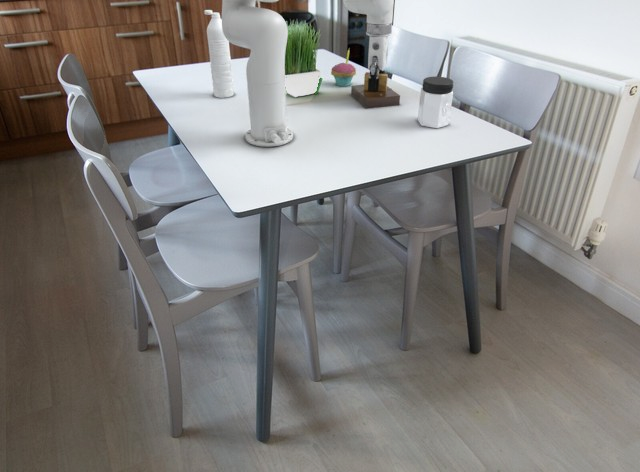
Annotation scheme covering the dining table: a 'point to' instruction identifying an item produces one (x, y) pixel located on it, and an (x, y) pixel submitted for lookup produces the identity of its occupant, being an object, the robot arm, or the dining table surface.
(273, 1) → the robot arm
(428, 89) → the jar
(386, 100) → the plate
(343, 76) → the cupcake
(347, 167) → the dining table surface
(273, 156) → the dining table surface
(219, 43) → the water bottle
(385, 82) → the tap handle
